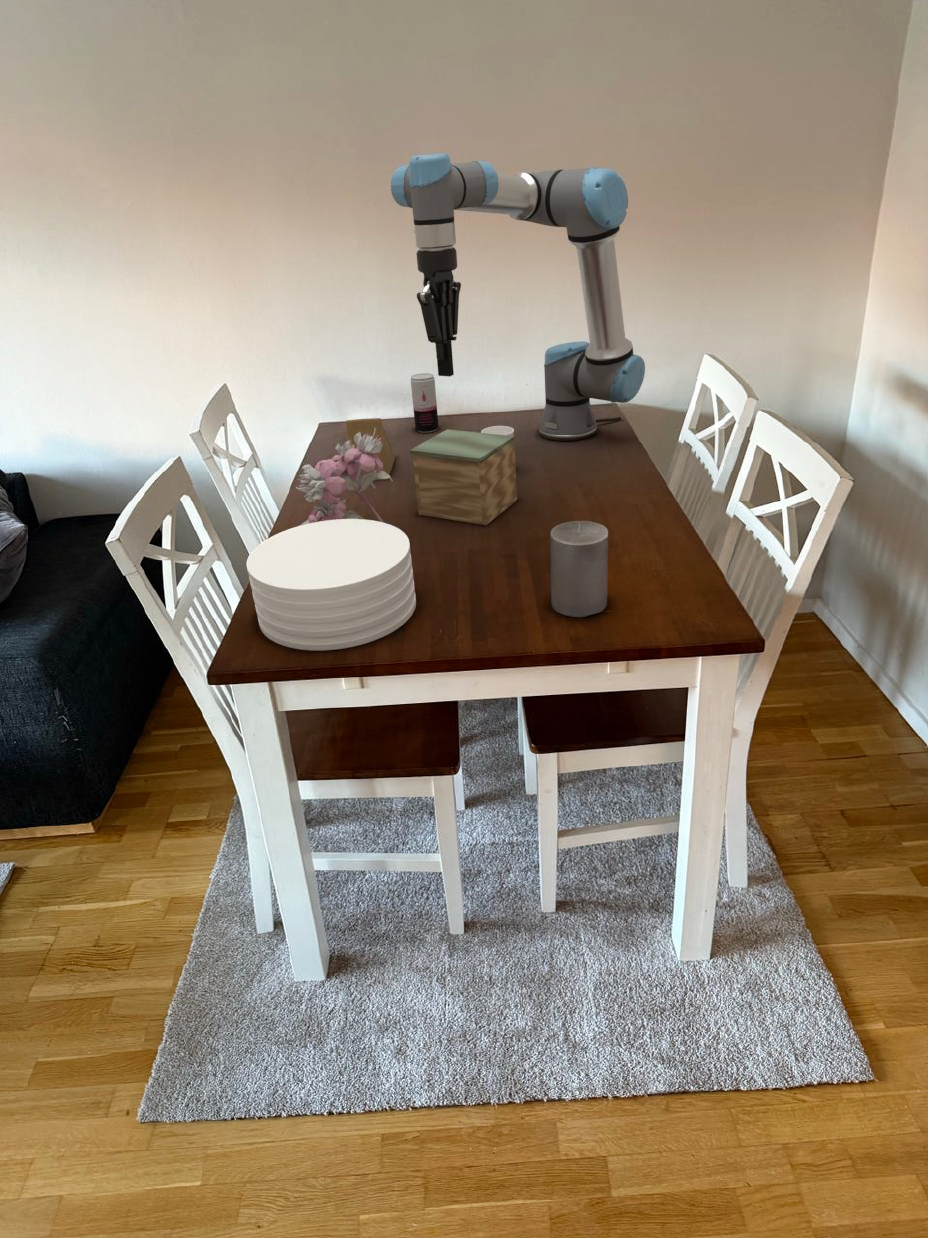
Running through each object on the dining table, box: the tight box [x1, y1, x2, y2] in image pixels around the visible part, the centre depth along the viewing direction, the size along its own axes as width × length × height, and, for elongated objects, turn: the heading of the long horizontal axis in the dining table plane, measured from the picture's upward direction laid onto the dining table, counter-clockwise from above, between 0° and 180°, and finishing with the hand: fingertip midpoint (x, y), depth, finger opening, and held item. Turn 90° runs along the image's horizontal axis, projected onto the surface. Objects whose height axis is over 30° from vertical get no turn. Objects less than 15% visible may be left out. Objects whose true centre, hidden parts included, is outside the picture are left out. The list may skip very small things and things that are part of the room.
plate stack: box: [246, 518, 417, 652], centre depth 152 cm, size 28×28×12 cm
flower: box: [295, 428, 394, 526], centre depth 176 cm, size 20×22×25 cm
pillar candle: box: [549, 520, 609, 618], centre depth 147 cm, size 10×10×15 cm
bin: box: [412, 439, 518, 526], centre depth 189 cm, size 15×17×14 cm
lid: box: [409, 428, 515, 462], centre depth 185 cm, size 16×17×1 cm
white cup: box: [480, 425, 515, 437], centre depth 209 cm, size 8×8×10 cm
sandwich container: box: [345, 417, 396, 476], centre depth 215 cm, size 9×15×15 cm, turn 177°
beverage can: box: [410, 372, 439, 434], centre depth 240 cm, size 7×7×15 cm
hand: (446, 374), depth 173 cm, fingers closed
